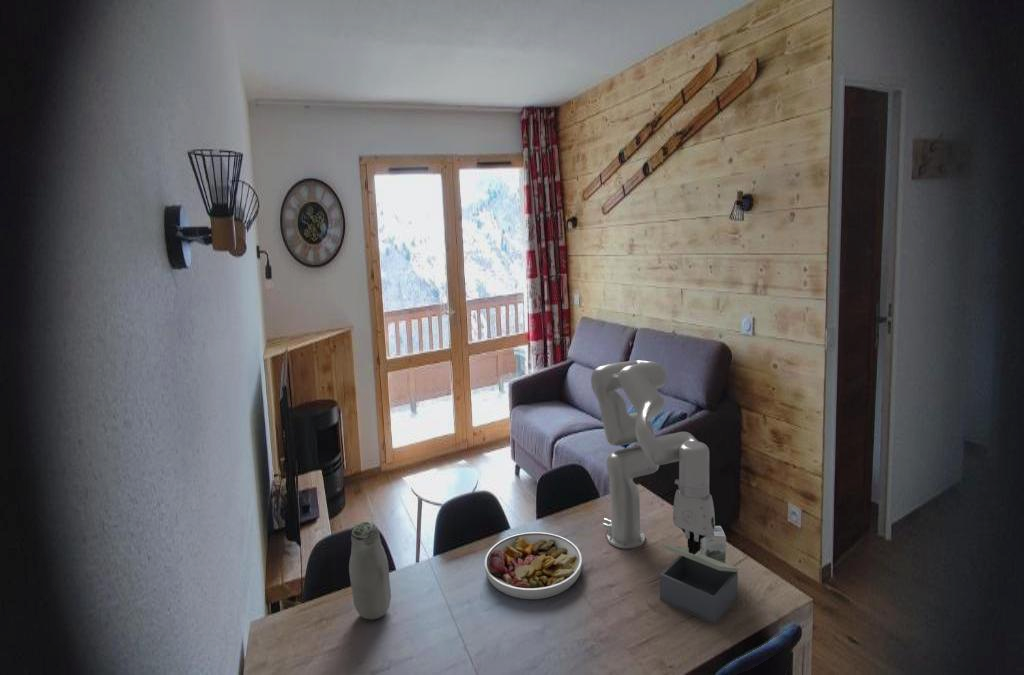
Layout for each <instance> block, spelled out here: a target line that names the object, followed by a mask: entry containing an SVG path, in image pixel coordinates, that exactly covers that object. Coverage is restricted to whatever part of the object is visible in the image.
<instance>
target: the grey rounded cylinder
mask: <svg viewBox="0 0 1024 675" xmlns="http://www.w3.org/2000/svg"><path fill="white" fill-rule="evenodd" d="M350 535H351V536H350V538H351V539H350V540H351V541H350V542H351V548H350V550H351V551H350V552H351V553H350V557H349V564H348V572H349V579H350V587H351V594H352V601H353V606H354V608H355V610H356V612H357V613H358V614H359V616H360V617H362V618H363V619H366V620H377V619H381V617H383V616H385V614H386V613H388V610H389V608H390V604H391V601H392V599H391V598H392V590H391V583H390V570H389V561H388V557H387V553H386V552H385V548H384V546H383V544H382V540H381V536H380V530H379V528H378V526H377V525H376V524H375V523H373V522H370V521H363V522H359V523H356V524H355V525H354V527H353V528H352V530H351V534H350Z"/></svg>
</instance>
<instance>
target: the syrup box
mask: <svg viewBox="0 0 1024 675" xmlns="http://www.w3.org/2000/svg"><path fill="white" fill-rule="evenodd" d="M713 531H714V537H713V538H706V537H704V538H702V539H701V549H700V554H702V555H705V556H707V557H710V558H713V559H715V560H718V561H720V562H723V563H726V554H727V550H726V548H727V536H726V534H725V532H724V530H723V528H722V526H721V525H715V527H714V529H713Z"/></svg>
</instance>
